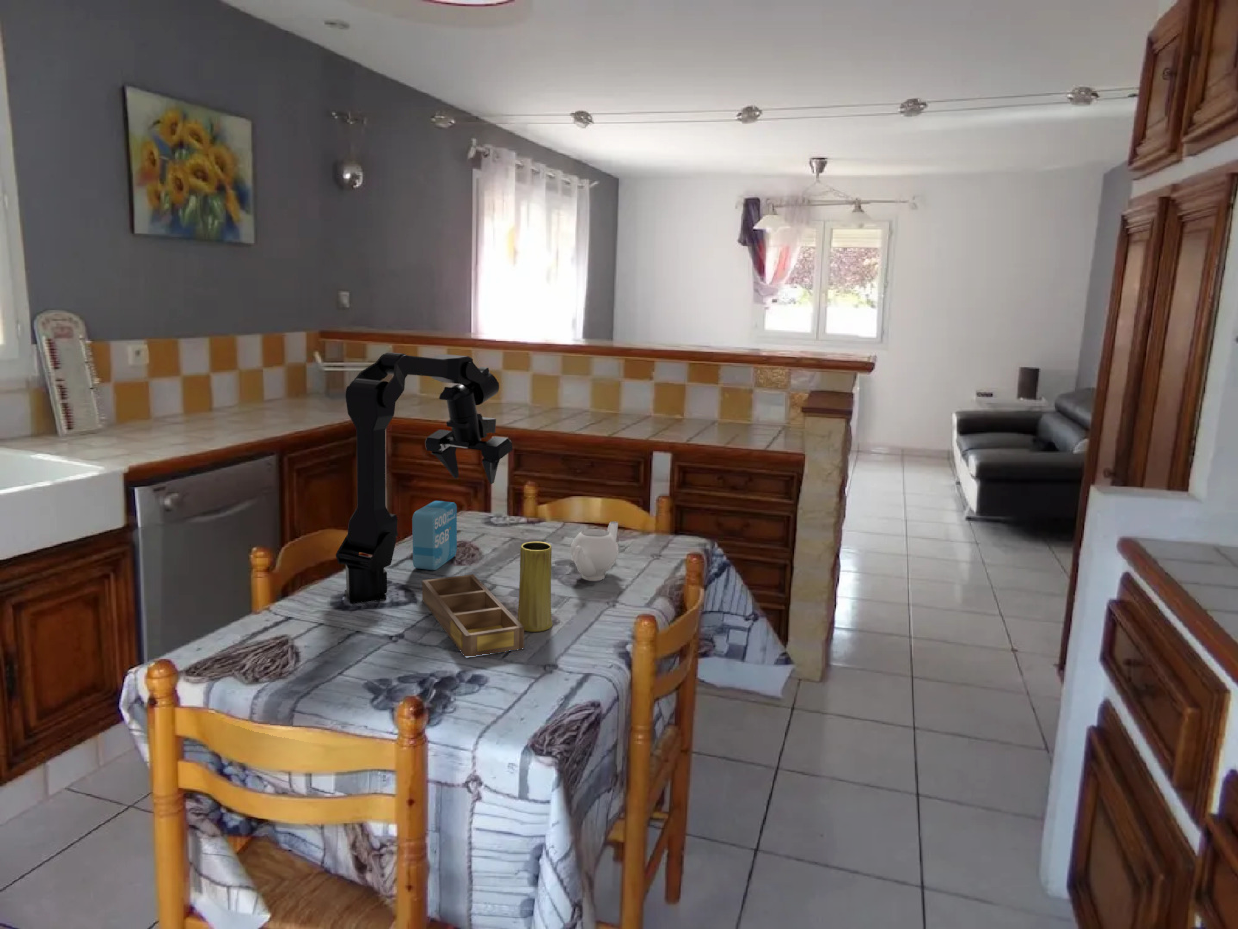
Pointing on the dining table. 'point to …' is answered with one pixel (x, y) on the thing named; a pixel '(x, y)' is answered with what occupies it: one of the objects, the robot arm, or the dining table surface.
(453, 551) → the data package
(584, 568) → the teapot
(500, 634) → the rack
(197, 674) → the dining table surface
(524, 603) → the vase
